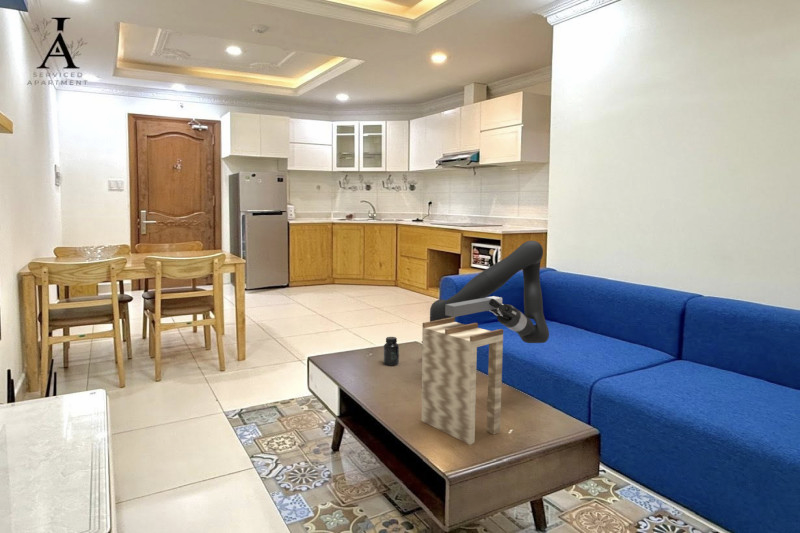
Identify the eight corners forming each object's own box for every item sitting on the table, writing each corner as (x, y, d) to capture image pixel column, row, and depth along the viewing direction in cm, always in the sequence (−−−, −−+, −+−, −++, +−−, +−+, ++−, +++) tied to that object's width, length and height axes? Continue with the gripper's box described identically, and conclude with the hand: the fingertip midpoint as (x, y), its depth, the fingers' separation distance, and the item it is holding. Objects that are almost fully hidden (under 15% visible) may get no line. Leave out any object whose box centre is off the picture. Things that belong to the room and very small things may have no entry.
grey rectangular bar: (445, 315, 171) (445, 304, 171) (493, 305, 186) (493, 296, 186) (454, 317, 168) (454, 306, 168) (502, 307, 183) (502, 297, 183)
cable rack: (421, 420, 174) (422, 322, 170) (451, 410, 183) (452, 317, 179) (469, 444, 158) (472, 336, 153) (500, 431, 166) (503, 329, 162)
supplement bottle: (381, 362, 237) (381, 336, 235) (395, 361, 239) (396, 335, 238) (386, 367, 230) (386, 340, 229) (401, 365, 233) (401, 339, 231)
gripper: (500, 305, 197) (474, 287, 186) (531, 312, 186) (505, 293, 176) (493, 324, 195) (466, 306, 185) (524, 331, 185) (498, 313, 174)
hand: (485, 300), depth 180 cm, fingers closed on grey rectangular bar, 4 cm apart
